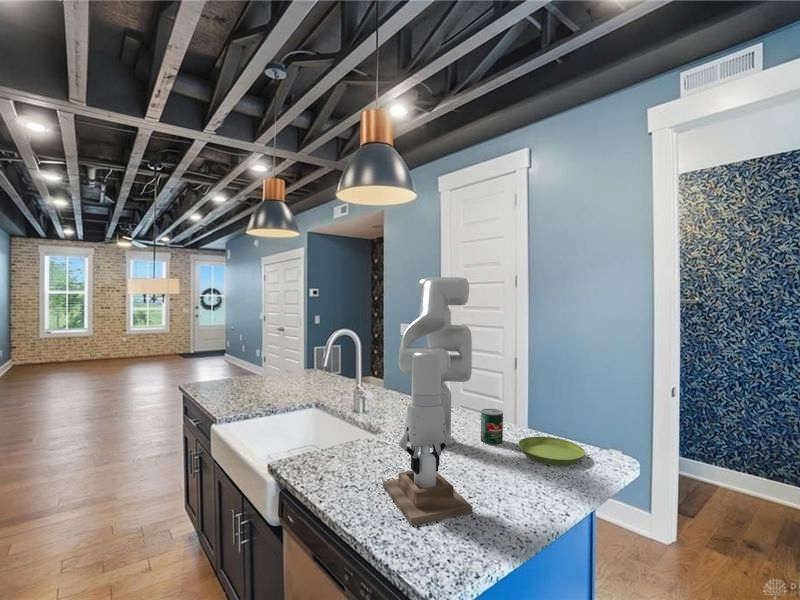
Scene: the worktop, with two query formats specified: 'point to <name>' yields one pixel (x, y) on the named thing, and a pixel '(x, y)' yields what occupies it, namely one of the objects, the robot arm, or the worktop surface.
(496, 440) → the canned tomato
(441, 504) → the bottle stand
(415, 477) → the eye dropper bottle
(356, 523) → the worktop surface
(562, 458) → the saucer
